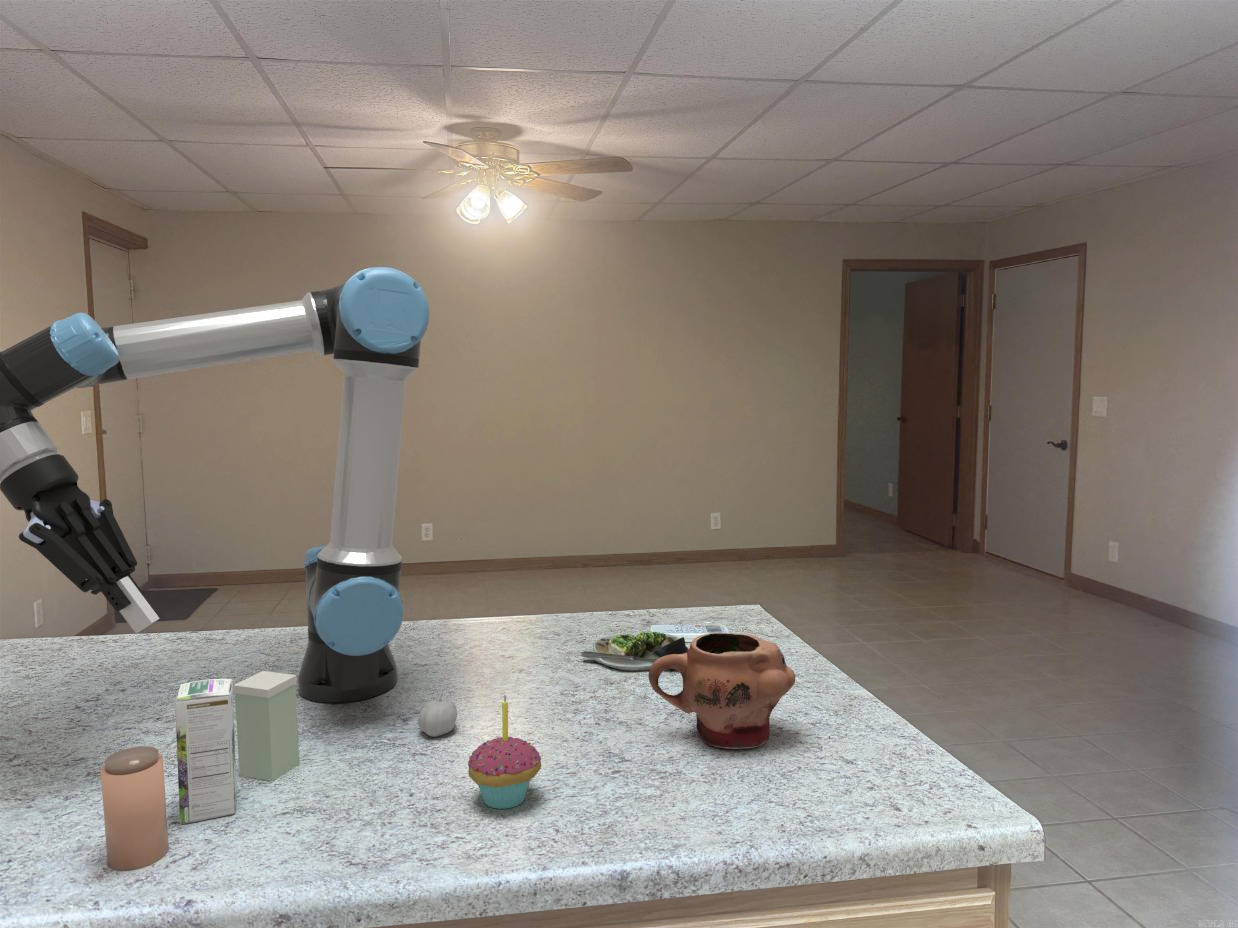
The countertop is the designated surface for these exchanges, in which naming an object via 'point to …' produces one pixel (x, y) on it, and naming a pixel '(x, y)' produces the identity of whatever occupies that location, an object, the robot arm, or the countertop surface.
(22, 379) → the robot arm
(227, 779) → the syrup box
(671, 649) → the salad plate
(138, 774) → the canister
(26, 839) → the countertop surface
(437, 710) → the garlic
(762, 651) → the brown clay mug
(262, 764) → the tea tin
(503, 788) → the cupcake
